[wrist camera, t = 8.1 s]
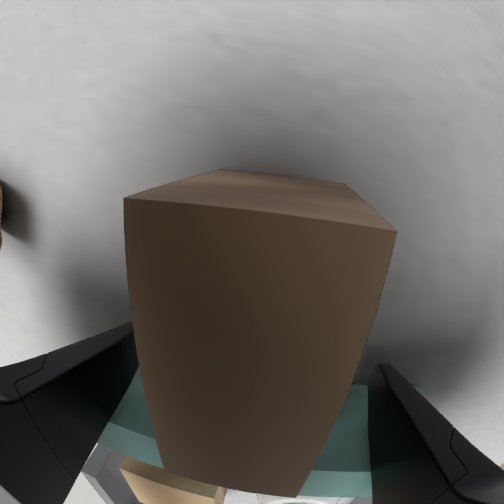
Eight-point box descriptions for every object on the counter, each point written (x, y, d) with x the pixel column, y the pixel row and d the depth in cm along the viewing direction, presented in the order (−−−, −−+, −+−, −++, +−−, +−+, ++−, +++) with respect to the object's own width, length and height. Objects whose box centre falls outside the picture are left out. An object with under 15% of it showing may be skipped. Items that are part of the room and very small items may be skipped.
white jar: (330, 497, 14) (357, 462, 12) (328, 534, 11) (359, 508, 9) (252, 490, 14) (262, 454, 13) (244, 527, 12) (253, 501, 10)
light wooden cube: (228, 453, 13) (214, 498, 10) (227, 488, 15) (216, 524, 12) (141, 430, 14) (119, 468, 11) (155, 469, 16) (139, 501, 13)
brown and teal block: (482, 212, 7) (589, 273, 3) (401, 417, 10) (419, 513, 6) (90, 164, 9) (-30, 191, 4) (114, 370, 12) (56, 444, 7)
